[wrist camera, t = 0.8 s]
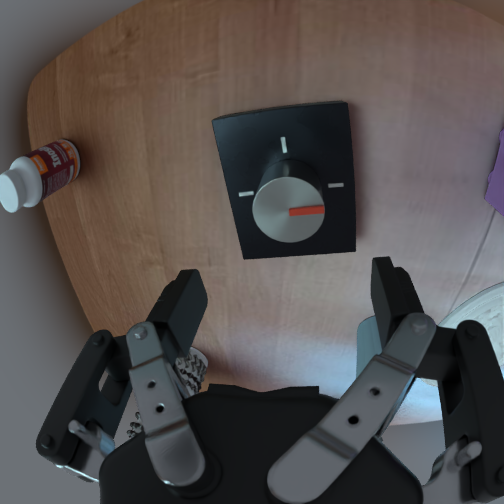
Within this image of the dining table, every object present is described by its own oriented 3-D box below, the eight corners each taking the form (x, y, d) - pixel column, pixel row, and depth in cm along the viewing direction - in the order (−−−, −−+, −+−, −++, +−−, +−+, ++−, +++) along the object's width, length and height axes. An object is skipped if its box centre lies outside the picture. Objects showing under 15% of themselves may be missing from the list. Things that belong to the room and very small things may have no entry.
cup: (395, 302, 35) (412, 364, 27) (403, 335, 38) (416, 392, 30) (344, 319, 38) (349, 382, 29) (357, 349, 41) (362, 406, 33)
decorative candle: (220, 363, 48) (183, 494, 28) (192, 376, 53) (155, 489, 32) (179, 334, 46) (124, 471, 25) (154, 351, 50) (104, 467, 29)
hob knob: (265, 218, 28) (258, 247, 24) (255, 163, 25) (245, 182, 21) (323, 213, 27) (327, 242, 23) (317, 156, 24) (321, 174, 20)
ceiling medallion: (462, 273, 31) (471, 288, 28) (557, 285, 28) (565, 295, 25) (393, 387, 46) (395, 400, 44) (489, 378, 43) (493, 389, 41)
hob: (219, 116, 26) (210, 120, 23) (342, 100, 23) (347, 102, 21) (248, 245, 34) (243, 260, 31) (351, 237, 31) (356, 252, 29)
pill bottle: (86, 147, 30) (22, 180, 20) (78, 188, 33) (23, 228, 24) (54, 132, 29) (-7, 160, 20) (49, 171, 32) (-6, 205, 23)
